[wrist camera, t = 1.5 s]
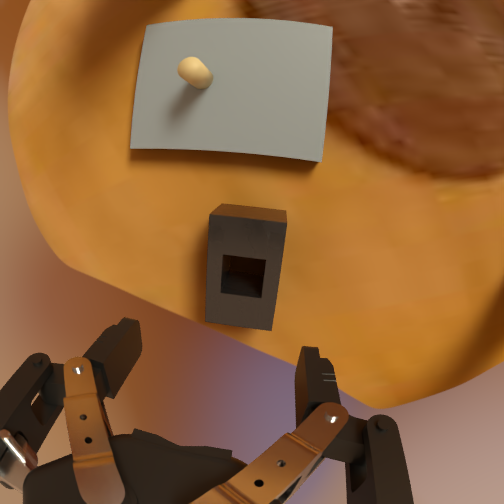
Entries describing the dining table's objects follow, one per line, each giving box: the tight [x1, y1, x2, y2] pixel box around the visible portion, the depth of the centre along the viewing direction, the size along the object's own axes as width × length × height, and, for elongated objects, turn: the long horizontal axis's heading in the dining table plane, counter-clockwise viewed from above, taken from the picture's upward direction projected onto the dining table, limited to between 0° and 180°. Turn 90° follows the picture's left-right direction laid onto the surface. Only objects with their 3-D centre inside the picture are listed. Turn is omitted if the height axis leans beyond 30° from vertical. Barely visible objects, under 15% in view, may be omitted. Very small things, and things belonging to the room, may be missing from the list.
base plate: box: [130, 18, 333, 162], centre depth 19 cm, size 16×12×5 cm
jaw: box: [205, 204, 287, 331], centre depth 24 cm, size 9×6×4 cm, turn 174°
